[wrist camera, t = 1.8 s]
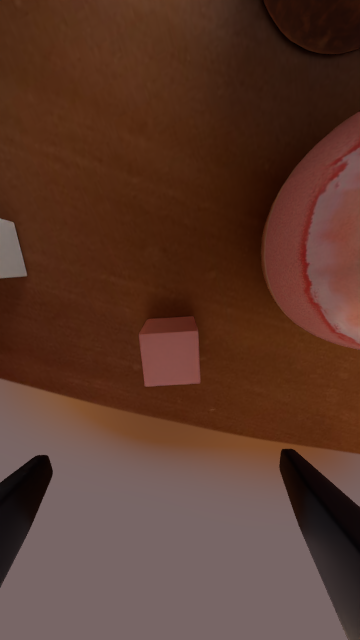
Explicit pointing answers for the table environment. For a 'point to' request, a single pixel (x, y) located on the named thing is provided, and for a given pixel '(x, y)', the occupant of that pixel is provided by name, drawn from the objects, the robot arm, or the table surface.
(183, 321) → the red block
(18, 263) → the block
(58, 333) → the table surface
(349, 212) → the vase
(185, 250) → the table surface
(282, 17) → the case
